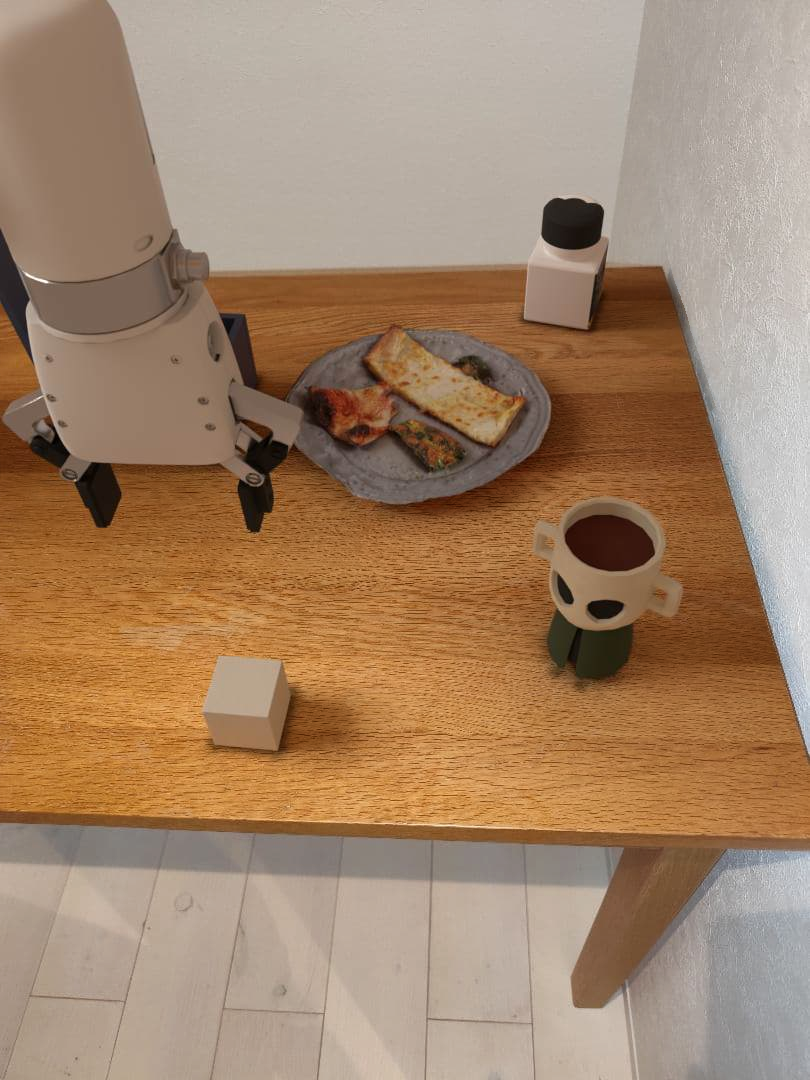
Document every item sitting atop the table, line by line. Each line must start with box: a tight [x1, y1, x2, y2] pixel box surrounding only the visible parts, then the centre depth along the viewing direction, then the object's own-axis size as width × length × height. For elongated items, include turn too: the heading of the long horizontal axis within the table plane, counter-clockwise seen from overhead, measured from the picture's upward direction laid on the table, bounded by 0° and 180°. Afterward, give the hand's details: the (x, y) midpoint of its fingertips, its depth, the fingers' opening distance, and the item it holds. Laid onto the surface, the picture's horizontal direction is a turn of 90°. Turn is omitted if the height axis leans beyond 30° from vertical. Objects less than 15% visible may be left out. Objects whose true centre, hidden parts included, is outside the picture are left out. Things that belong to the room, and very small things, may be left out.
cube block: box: [201, 655, 292, 751], centre depth 63 cm, size 5×5×5 cm
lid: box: [0, 228, 35, 368], centre depth 77 cm, size 15×13×1 cm
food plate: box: [283, 322, 552, 505], centre depth 84 cm, size 25×23×4 cm
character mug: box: [531, 496, 684, 681], centre depth 63 cm, size 11×7×13 cm, turn 55°
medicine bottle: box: [523, 194, 610, 331], centre depth 93 cm, size 7×7×12 cm
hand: (184, 514), depth 57 cm, fingers open, 9 cm apart
